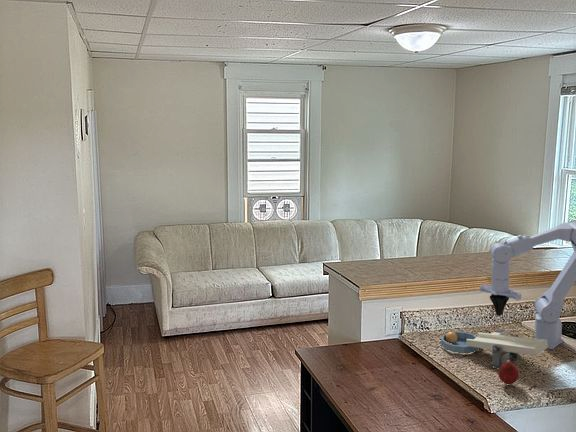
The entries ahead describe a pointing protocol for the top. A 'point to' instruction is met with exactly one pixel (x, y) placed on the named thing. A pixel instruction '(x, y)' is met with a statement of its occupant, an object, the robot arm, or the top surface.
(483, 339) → the lever
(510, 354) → the stand
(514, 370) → the onion
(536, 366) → the top surface
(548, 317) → the robot arm
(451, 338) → the ball
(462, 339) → the blue bowl
